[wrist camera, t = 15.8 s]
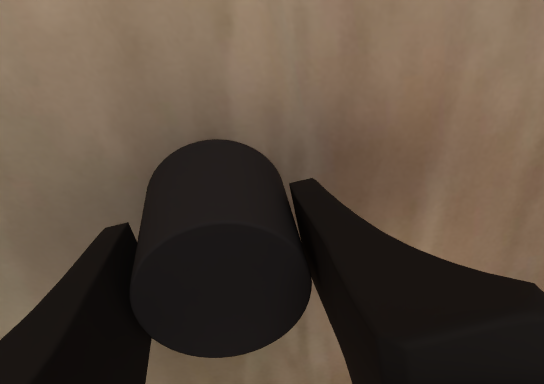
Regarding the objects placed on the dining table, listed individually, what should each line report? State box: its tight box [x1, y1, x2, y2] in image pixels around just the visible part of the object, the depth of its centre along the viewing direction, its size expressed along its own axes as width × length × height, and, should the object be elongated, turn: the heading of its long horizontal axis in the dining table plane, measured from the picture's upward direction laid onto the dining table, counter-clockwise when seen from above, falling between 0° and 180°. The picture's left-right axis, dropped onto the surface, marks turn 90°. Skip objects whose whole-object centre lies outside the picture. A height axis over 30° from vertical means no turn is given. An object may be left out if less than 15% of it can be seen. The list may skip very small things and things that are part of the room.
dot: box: [129, 140, 312, 358], centre depth 12 cm, size 4×4×4 cm
